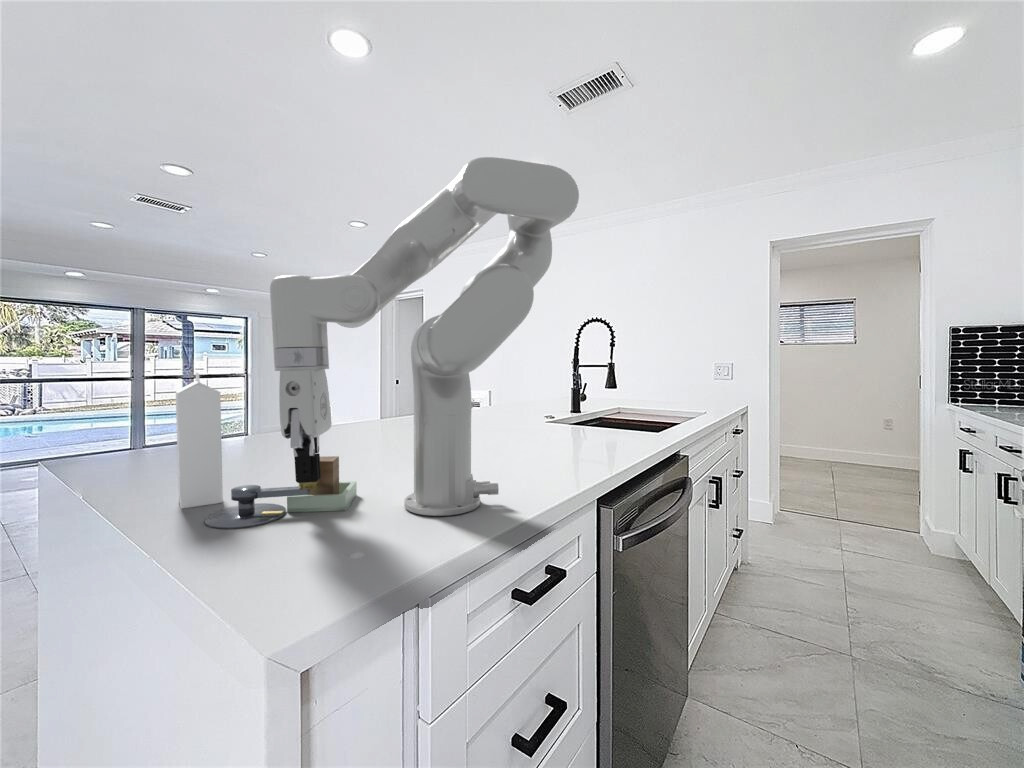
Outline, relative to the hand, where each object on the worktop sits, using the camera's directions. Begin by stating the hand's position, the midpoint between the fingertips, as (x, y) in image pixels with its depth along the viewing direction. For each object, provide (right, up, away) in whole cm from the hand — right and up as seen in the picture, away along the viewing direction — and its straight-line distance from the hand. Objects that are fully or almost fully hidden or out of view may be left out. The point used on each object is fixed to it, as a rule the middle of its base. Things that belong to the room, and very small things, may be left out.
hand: (308, 480), depth 74 cm
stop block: (-1, -5, +9) cm, 10 cm away
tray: (-1, -6, +9) cm, 10 cm away
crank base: (-10, -6, +1) cm, 12 cm away
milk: (-22, -6, +9) cm, 25 cm away
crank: (-6, -3, +2) cm, 7 cm away
